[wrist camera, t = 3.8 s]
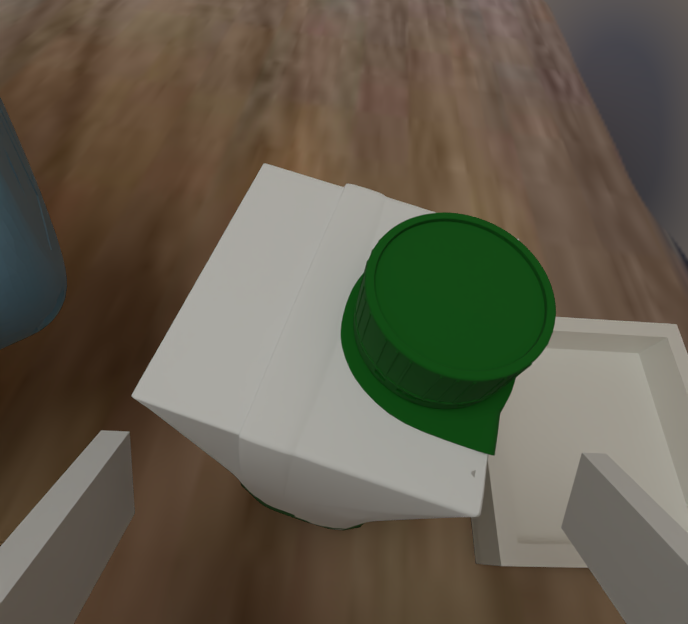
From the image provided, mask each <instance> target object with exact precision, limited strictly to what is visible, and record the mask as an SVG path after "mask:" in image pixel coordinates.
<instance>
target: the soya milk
mask: <svg viewBox="0 0 688 624" xmlns="http://www.w3.org/2000/svg"><path fill="white" fill-rule="evenodd" d="M555 318H556V305H555V298H554V293H553V290H552V287H551V284H550V281H549V279H548V277H547V275H546V273H545V271H544V269H543V267H542V266H541V264H540V263H539V261H538V260H537V259H536V258H535V256H534V255H533V254H532V253H531V252H530V250H529V249H528V248H527V247H526V246H525V245H523V244H522V243H521V242H520V241H519V239H516V238H515V237H514V236H512V235H511V234H510V233H508V232H507V231H505V230H503V229H502V228H500V227H498V226H496V225H494V224H492V223H490V222H487V221H485V220H482V219H479V218H476V217H472V216H468V215H464V214H457V213H436V212H432V211H429V210H426V209H423V208H420V207H417V206H414V205H410V204H407V203H404V202H401V201H398V200H394V199H391V198H388V197H385V196H384V195H383V194H381V193H379V192H376V191H373V190H370V189H367V188H363V187H360V186H357V185H353V184H346V185H345V187H341V186H338V185H334V184H331V183H328V182H325V181H321V180H318V179H315V178H312V177H308V176H305V175H302V174H299V173H295V172H292V171H289V170H286V169H282V168H279V167H276V166H272V165H269V164H265V163H264V164H263V166H262V167H261V169H260V171H259V172H258V174H257V176H256V178H255V179H254V181H253V183H252V185H251V186H250V188H249V190H248V192H247V193H246V195H245V197H244V199H243V200H242V202H241V204H240V206H239V207H238V209H237V211H236V213H235V214H234V216H233V218H232V220H231V221H230V223H229V225H228V227H227V229H226V230H225V232H224V234H223V236H222V237H221V239H220V241H219V243H218V244H217V246H216V248H215V250H214V251H213V253H212V255H211V257H210V258H209V260H208V262H207V264H206V265H205V267H204V269H203V271H202V272H201V274H200V276H199V278H198V279H197V281H196V283H195V285H194V286H193V288H192V290H191V292H190V293H189V295H188V297H187V299H186V300H185V302H184V304H183V306H182V307H181V309H180V311H179V313H178V314H177V316H176V318H175V320H174V321H173V323H172V325H171V327H170V328H169V330H168V332H167V334H166V335H165V337H164V339H163V341H162V342H161V344H160V346H159V348H158V349H157V351H156V353H155V355H154V356H153V358H152V360H151V362H150V363H149V365H148V367H147V369H146V370H145V372H144V374H143V376H142V377H141V379H140V381H139V383H138V384H137V386H136V388H135V390H134V392H133V394H132V397H133V398H134V399H135V400H137V401H138V402H140V403H141V404H143V405H144V406H146V407H147V408H149V409H150V410H151V411H153V412H154V413H155V414H156V415H158V416H159V417H160V418H162V419H163V420H164V421H166V422H167V423H168V424H169V425H171V426H172V427H173V428H175V429H176V430H177V431H179V432H180V433H181V434H182V435H184V436H185V437H186V438H188V439H189V440H190V441H191V442H193V443H194V444H195V445H197V446H198V447H199V448H201V449H202V450H203V451H204V452H206V453H207V454H208V455H210V456H211V457H212V458H213V459H215V460H216V461H217V462H219V463H220V464H221V465H223V466H224V467H225V468H226V469H228V470H229V471H230V472H231V473H232V474H234V475H235V476H236V477H237V478H238V479H239V481H240V482H241V485H242V486H243V487H244V488H245V489H246V490H247V491H248V492H249V493H250V494H251V495H252V496H253V497H254V498H255V499H256V500H257V501H259V502H260V503H261V504H262V505H264V506H265V507H267V508H270V509H272V510H274V511H277V512H279V513H282V514H285V515H288V516H291V517H293V518H296V519H299V520H302V521H305V522H308V523H311V524H315V525H318V526H321V527H325V528H328V529H334V530H347V529H352V528H358V527H360V526H361V525H362V524H364V523H365V522H372V521H385V520H407V519H429V518H453V517H479V516H480V514H481V510H482V504H483V497H484V489H485V480H486V471H487V462H488V456H489V455H493V456H495V450H496V443H497V436H498V428H499V420H500V413H501V411H502V410H503V408H504V406H505V404H506V402H507V400H508V398H509V397H510V394H511V392H512V390H513V386H514V383H515V379H516V377H517V376H518V375H520V374H521V373H522V372H523V371H525V370H526V369H527V368H529V367H530V366H531V365H532V363H533V362H534V361H535V360H536V359H537V358H538V357H539V356H540V355H541V353H542V352H543V351H544V349H545V348H546V346H547V345H548V344H549V343H548V342H549V340H550V338H551V335H552V333H553V329H554V325H555Z"/></svg>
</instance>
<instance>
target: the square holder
mask: <svg viewBox="0 0 688 624" xmlns="http://www.w3.org/2000/svg"><path fill="white" fill-rule="evenodd" d="M548 343H549V344H548V345H547V346H546V348H545V349H544V351H543V352H542V353H541V355H540V356H539V357H538V358H537V359H536V360H535V361H534V362H533V363H532V365H531V366H530V367H529V368H527V369H526V370H525V371H523V372H522V373H521V374H520V375H518V376H517V377H516V379H515V383H514V386H513V390H512V392H511V394H510V397H509V398H508V400H507V402H506V404H505V406H504V408H503V410H502V411H501V413H500V420H499V428H498V436H497V443H496V450H495V456H493V455H489V456H488V462H487V471H486V480H485V489H484V497H483V504H482V510H481V514H480V516H479V517H471V523H472V532H473V542H474V551H475V561H476V564H486V565H495V566H521V567H575V568H588V566H587V565H586V564H585V562H584V561H583V559H582V558H581V556H580V555H579V553H578V552H577V550H576V549H575V547H574V546H573V544H572V543H571V541H570V540H569V539H568V537H567V536H566V534H565V533H564V531H563V530H562V528H561V526H562V522H563V519H564V515H565V512H566V508H567V504H568V501H569V497H570V494H571V490H572V486H573V483H574V479H575V476H576V472H577V468H578V465H579V461H580V458H581V454H582V453H602V454H607V455H608V456H609V457H610V458H611V459H612V460H613V461H614V462H615V463H616V464H617V465H618V466H619V467H620V468H622V469H623V470H624V471H625V472H626V473H627V474H628V475H629V476H630V477H631V478H632V479H633V480H634V481H635V482H636V483H637V484H638V485H639V486H640V487H641V488H642V489H643V490H644V491H645V492H646V493H647V494H648V495H649V496H650V497H651V498H652V499H653V500H654V501H655V502H656V503H657V504H658V505H659V506H660V507H662V508H663V509H664V510H665V511H666V512H667V513H668V514H669V515H670V516H671V517H672V518H673V519H674V520H675V521H676V522H677V523H678V524H679V525H680V526H681V527H682V528H683V529H684V530H685V531H686V532H687V533H688V354H687V351H686V348H685V346H684V343H683V340H682V338H681V335H680V332H679V330H678V327H677V324H663V323H647V322H631V321H614V320H598V319H582V318H566V317H556V318H555V325H554V329H553V333H552V335H551V338H550V340H549V342H548Z"/></svg>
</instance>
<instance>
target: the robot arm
mask: <svg viewBox="0 0 688 624" xmlns="http://www.w3.org/2000/svg"><path fill="white" fill-rule="evenodd" d="M66 289H67V277H66V269H65V265H64V260H63V256H62V253H61V249H60V246H59V243H58V240H57V236H56V233H55V230H54V228H53V225H52V222H51V219H50V217H49V214H48V211H47V208H46V206H45V203H44V200H43V198H42V195H41V192H40V190H39V187H38V185H37V182H36V180H35V177H34V175H33V172H32V170H31V167H30V165H29V162H28V160H27V158H26V155H25V153H24V150H23V148H22V146H21V143H20V141H19V139H18V136H17V134H16V132H15V129H14V127H13V125H12V122H11V120H10V118H9V115H8V113H7V111H6V109H5V106H4V104H3V102H2V100H1V98H0V349H2V348H4V347H7V346H9V345H11V344H13V343H15V342H18V341H20V340H22V339H24V338H26V337H29V336H31V335H33V334H35V333H37V332H39V331H40V330H42V329H43V328H44V327H46V326H47V325H48V324H49V323H50V322H51V321H52V320H53V319H54V318H55V317H56V316H57V314H58V313H59V311H60V309H61V308H62V305H63V302H64V300H65V296H66ZM134 514H135V508H134V492H133V476H132V460H131V445H130V432H126V431H105V430H101V431H100V432H99V433H98V435H97V436H96V437H95V438H94V439H93V440H92V441H91V443H90V444H89V445H88V446H87V447H86V448H85V450H84V451H83V452H82V453H81V454H80V455H79V456H78V458H77V459H76V460H75V461H74V462H73V463H72V465H71V466H70V467H69V468H68V469H67V470H66V471H65V473H64V474H63V475H62V476H61V477H60V478H59V480H58V481H57V482H56V483H55V484H54V485H53V486H52V488H51V489H50V490H49V491H48V492H47V493H46V494H45V496H44V497H43V498H42V499H41V500H40V501H39V503H38V504H37V505H36V506H35V507H34V508H33V509H32V511H31V512H30V513H29V514H28V515H27V516H26V518H25V519H24V520H23V521H22V522H21V523H20V524H19V526H18V527H17V528H16V529H15V530H14V531H13V533H12V534H11V535H10V536H9V537H8V538H7V539H6V541H5V542H4V543H3V544H2V545H1V546H0V624H74V622H75V620H76V618H77V617H78V615H79V613H80V611H81V609H82V608H83V606H84V604H85V602H86V600H87V599H88V597H89V595H90V593H91V591H92V590H93V588H94V586H95V584H96V582H97V581H98V579H99V577H100V575H101V573H102V572H103V570H104V568H105V566H106V564H107V563H108V561H109V559H110V557H111V555H112V554H113V552H114V550H115V548H116V546H117V545H118V543H119V541H120V539H121V537H122V536H123V534H124V532H125V530H126V528H127V527H128V525H129V523H130V521H131V519H132V517H133V516H134ZM561 528H562V530H563V531H564V533H565V534H566V536H567V537H568V539H569V540H570V541H571V543H572V544H573V546H574V547H575V549H576V550H577V552H578V553H579V555H580V556H581V558H582V559H583V561H584V562H585V564H586V565H587V566H588V568H589V569H590V571H591V572H592V574H593V575H594V577H595V578H596V580H597V581H598V583H599V584H600V586H601V587H602V588H603V590H604V591H605V593H606V594H607V596H608V597H609V599H610V600H611V602H612V603H613V605H614V606H615V608H616V609H617V611H618V612H619V613H620V615H621V616H622V618H623V619H624V621H625V622H626V624H688V533H687V532H686V531H685V530H684V529H683V528H682V527H681V526H680V525H679V524H678V523H677V522H676V521H675V520H674V519H673V518H672V517H671V516H670V515H669V514H668V513H667V512H666V511H665V510H664V509H663V508H662V507H660V506H659V505H658V504H657V503H656V502H655V501H654V500H653V499H652V498H651V497H650V496H649V495H648V494H647V493H646V492H645V491H644V490H643V489H642V488H641V487H640V486H639V485H638V484H637V483H636V482H635V481H634V480H633V479H632V478H631V477H630V476H629V475H628V474H627V473H626V472H625V471H624V470H623V469H622V468H620V467H619V466H618V465H617V464H616V463H615V462H614V461H613V460H612V459H611V458H610V457H609V456H608V455H607V454H602V453H582V454H581V458H580V461H579V465H578V468H577V472H576V476H575V479H574V483H573V486H572V490H571V494H570V497H569V501H568V504H567V508H566V512H565V515H564V519H563V522H562V526H561Z"/></svg>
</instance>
